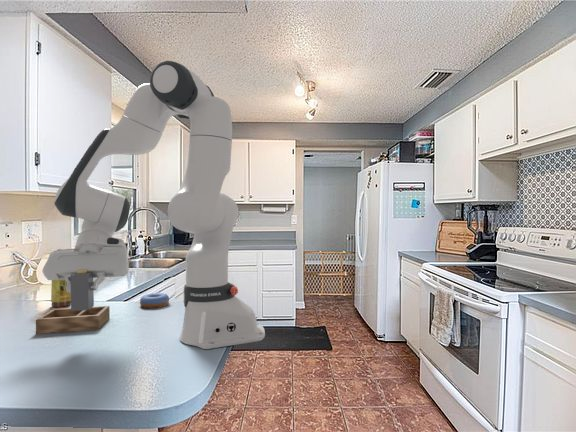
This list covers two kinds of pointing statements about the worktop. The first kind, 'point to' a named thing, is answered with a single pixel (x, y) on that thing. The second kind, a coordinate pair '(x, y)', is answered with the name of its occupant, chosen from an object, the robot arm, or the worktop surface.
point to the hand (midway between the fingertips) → (81, 289)
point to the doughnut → (154, 300)
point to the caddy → (72, 320)
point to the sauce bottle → (60, 294)
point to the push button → (81, 290)
